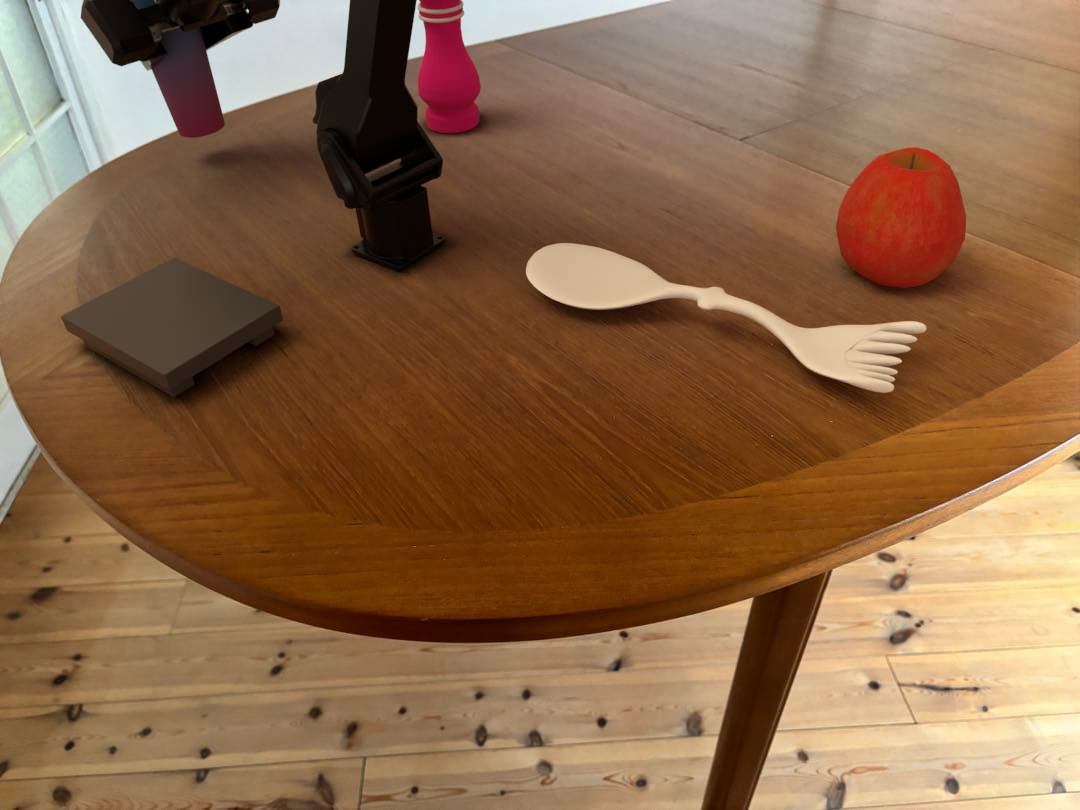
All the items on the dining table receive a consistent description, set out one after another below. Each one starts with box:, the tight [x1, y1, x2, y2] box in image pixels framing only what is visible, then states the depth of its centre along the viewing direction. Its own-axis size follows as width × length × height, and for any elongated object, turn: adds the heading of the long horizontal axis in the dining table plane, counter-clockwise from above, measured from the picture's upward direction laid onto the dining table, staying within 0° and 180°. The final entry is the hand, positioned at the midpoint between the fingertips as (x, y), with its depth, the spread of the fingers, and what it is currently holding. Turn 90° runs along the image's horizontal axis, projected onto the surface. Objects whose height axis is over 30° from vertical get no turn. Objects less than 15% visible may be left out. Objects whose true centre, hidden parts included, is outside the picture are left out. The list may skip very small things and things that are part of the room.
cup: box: [130, 0, 226, 139], centre depth 97 cm, size 7×7×15 cm
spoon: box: [525, 242, 927, 394], centre depth 73 cm, size 9×32×4 cm, turn 57°
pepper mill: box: [416, 0, 482, 134], centre depth 102 cm, size 7×7×20 cm
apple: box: [835, 146, 967, 289], centre depth 76 cm, size 10×10×10 cm
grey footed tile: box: [60, 257, 284, 398], centre depth 75 cm, size 14×11×3 cm
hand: (172, 57), depth 97 cm, fingers closed on cup, 6 cm apart
